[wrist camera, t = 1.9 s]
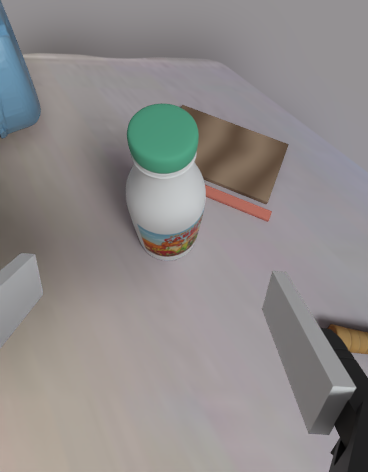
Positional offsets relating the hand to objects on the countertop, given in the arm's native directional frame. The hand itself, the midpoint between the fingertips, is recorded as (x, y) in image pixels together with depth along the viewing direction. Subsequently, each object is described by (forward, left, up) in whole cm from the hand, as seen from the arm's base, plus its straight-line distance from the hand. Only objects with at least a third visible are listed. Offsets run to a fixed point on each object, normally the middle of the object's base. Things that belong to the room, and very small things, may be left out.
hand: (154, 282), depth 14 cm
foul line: (-1, +17, -18) cm, 25 cm away
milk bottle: (-3, +9, -19) cm, 21 cm away
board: (-1, +24, -18) cm, 30 cm away
